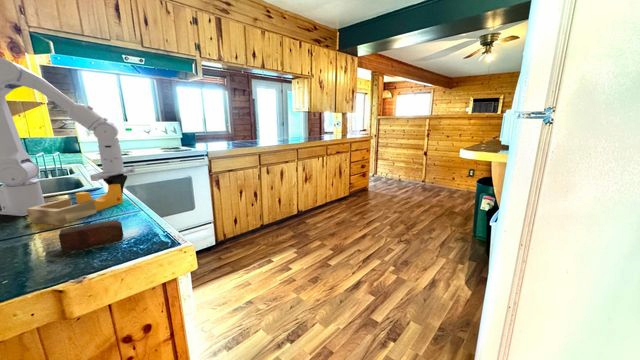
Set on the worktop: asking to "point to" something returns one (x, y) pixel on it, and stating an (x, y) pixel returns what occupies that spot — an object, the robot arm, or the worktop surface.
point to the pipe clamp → (103, 197)
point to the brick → (90, 235)
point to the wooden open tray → (60, 212)
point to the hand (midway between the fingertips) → (118, 195)
